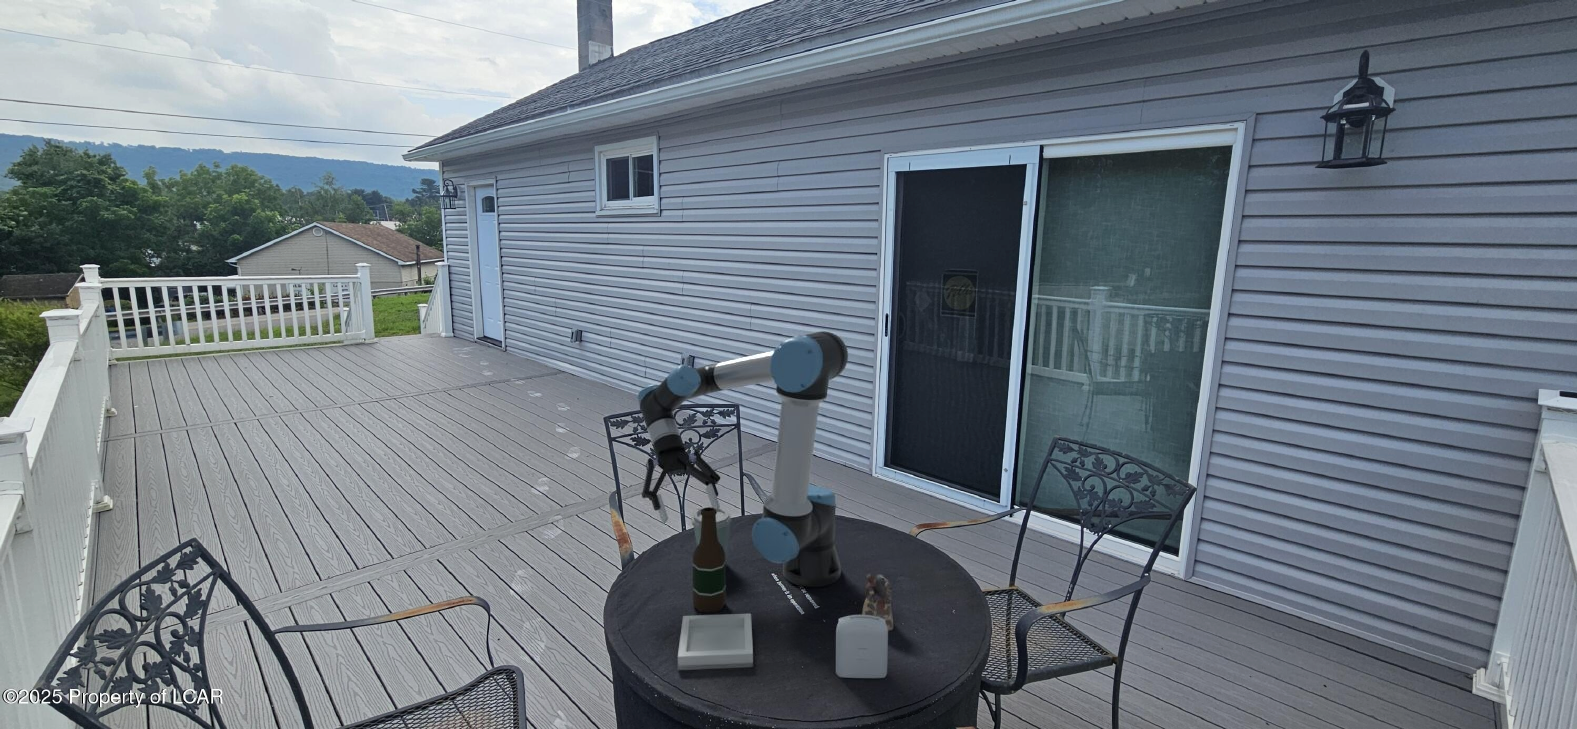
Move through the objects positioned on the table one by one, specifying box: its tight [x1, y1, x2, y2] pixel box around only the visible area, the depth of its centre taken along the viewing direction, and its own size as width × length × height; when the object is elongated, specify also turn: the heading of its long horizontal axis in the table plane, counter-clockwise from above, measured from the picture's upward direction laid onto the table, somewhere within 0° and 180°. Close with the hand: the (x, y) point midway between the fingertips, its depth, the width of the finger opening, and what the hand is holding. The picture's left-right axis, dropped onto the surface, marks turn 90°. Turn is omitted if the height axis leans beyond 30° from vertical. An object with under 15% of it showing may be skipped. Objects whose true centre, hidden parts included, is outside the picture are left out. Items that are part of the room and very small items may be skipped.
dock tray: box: [677, 613, 754, 671], centre depth 142 cm, size 15×15×3 cm
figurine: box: [861, 573, 894, 632], centre depth 150 cm, size 7×7×12 cm
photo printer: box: [835, 614, 889, 679], centre depth 132 cm, size 10×4×12 cm, turn 88°
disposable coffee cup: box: [690, 505, 732, 558], centre depth 177 cm, size 11×11×15 cm
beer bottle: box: [692, 507, 727, 614], centre depth 156 cm, size 8×8×24 cm
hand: (691, 515), depth 162 cm, fingers open, 13 cm apart
